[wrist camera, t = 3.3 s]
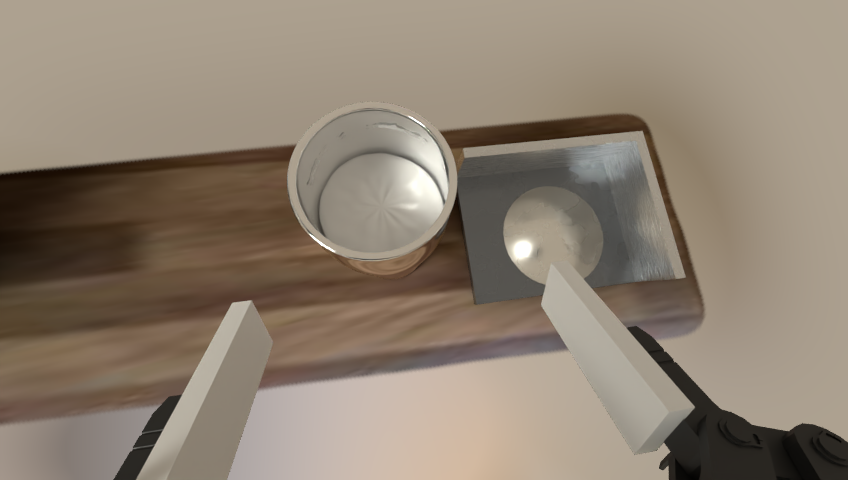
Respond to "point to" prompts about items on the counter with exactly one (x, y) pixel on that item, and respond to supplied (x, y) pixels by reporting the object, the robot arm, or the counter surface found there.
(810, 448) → the robot arm
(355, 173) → the beer glass
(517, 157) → the tray
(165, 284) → the counter surface
